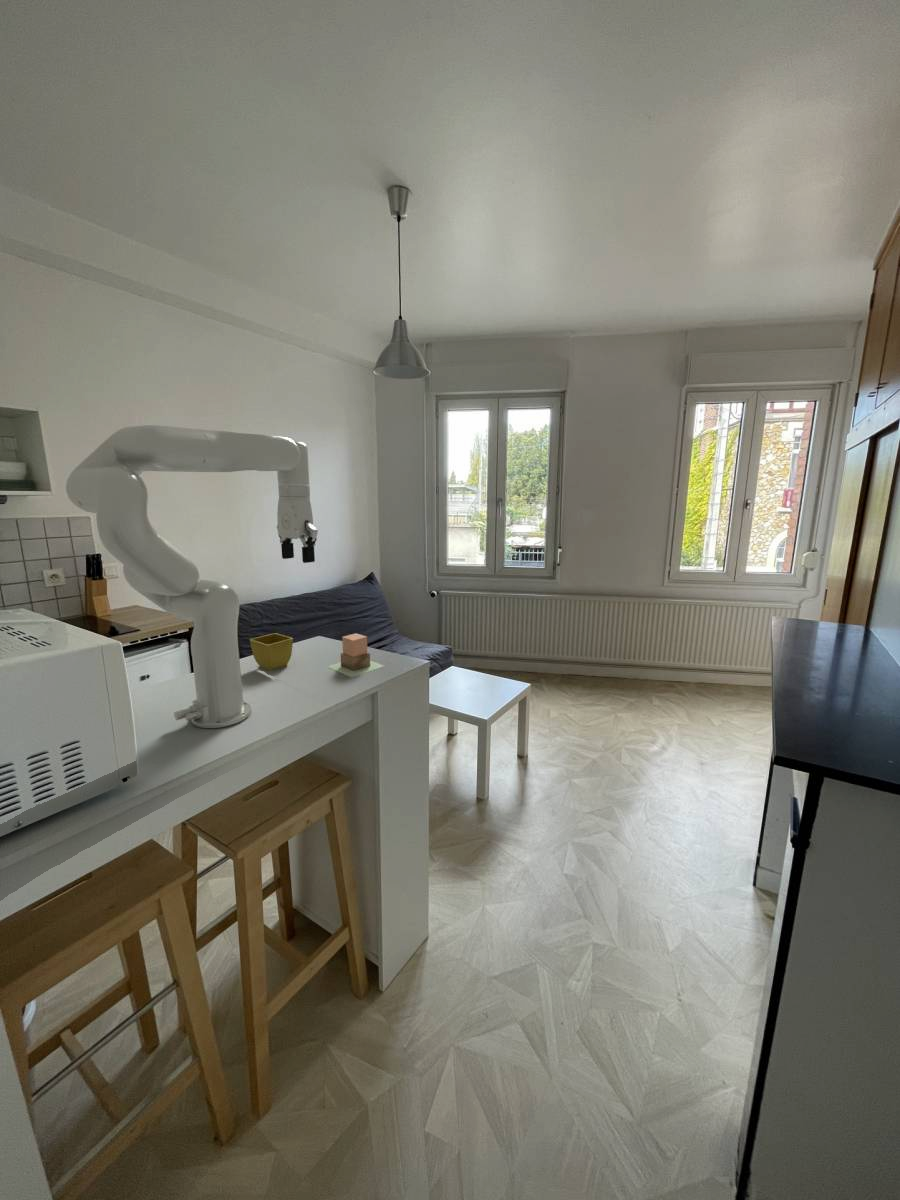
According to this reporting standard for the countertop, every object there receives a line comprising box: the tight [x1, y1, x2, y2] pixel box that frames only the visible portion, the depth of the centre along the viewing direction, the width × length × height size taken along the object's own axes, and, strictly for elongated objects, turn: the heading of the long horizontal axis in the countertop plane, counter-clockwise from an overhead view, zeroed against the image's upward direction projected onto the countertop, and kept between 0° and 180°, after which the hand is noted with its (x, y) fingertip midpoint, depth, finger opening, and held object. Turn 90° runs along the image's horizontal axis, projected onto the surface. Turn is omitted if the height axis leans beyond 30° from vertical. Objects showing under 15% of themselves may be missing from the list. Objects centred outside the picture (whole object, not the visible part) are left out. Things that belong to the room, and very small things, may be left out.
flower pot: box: [249, 632, 294, 671], centre depth 143 cm, size 9×9×9 cm
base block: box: [340, 651, 371, 671], centre depth 143 cm, size 6×6×4 cm
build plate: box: [326, 660, 385, 678], centre depth 144 cm, size 12×12×1 cm
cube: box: [341, 633, 368, 657], centre depth 142 cm, size 5×5×5 cm
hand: (298, 560), depth 127 cm, fingers open, 9 cm apart
